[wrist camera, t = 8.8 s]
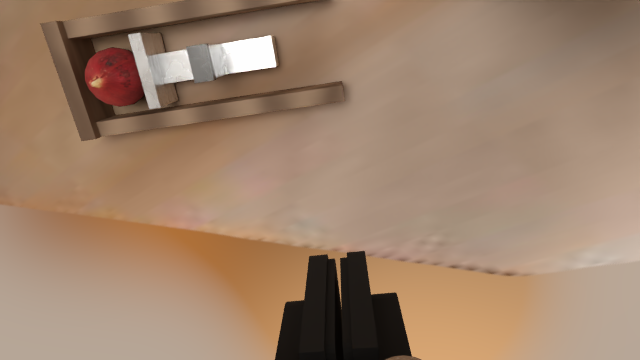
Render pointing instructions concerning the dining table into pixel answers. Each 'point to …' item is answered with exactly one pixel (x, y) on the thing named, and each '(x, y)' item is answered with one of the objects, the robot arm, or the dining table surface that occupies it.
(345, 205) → the dining table surface
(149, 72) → the grey angular piece
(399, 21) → the dining table surface
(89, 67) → the pomegranate
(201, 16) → the guide
